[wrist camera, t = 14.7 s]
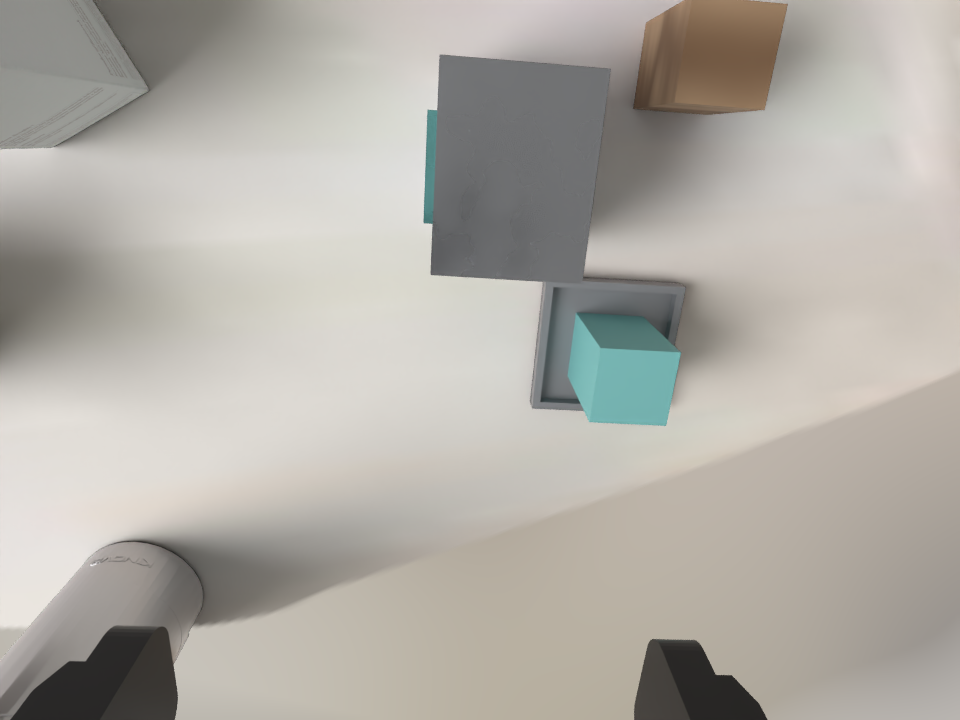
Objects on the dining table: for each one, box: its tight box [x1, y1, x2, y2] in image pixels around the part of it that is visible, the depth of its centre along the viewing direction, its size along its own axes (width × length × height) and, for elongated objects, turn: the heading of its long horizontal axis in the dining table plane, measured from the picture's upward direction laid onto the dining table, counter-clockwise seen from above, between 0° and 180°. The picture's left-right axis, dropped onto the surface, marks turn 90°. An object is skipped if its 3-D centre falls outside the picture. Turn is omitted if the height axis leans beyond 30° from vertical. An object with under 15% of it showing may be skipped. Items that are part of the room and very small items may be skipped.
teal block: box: [568, 313, 681, 426], centre depth 36 cm, size 4×4×7 cm
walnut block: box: [633, 0, 788, 115], centre depth 31 cm, size 4×4×7 cm
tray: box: [530, 277, 686, 411], centre depth 40 cm, size 9×9×1 cm
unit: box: [424, 55, 611, 284], centre depth 31 cm, size 9×8×11 cm
